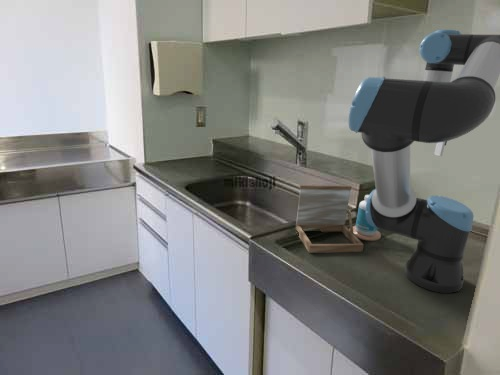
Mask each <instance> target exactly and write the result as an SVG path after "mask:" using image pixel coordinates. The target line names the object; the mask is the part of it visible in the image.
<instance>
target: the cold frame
mask: <svg viewBox="0 0 500 375" xmlns="http://www.w3.org/2000/svg"><path fill="white" fill-rule="evenodd" d="M352 188H353V187H352V185H324V184H323V185H317V184H316V185H315V184H312V185H311V184H308V185H307V184H304V185H303V184H301V185H299V195H298V196H299V197H298V206H297V213H296V214H297V215H296V222H295V229H296V230H297V231H298V232H299V236H298V238H299V240H300V241H301V243H302V244H303V246H304V247H305V248H306V251H307V252H308V254H314V253H315V254H317V253H318V254H319V253H326V254H327V253H362V252H363V250H364V246H365V245H364V243H363V242H362V241H361V239H359V238H357V237H356V236H355V235H354V232H353V226H354V225H353V218H352V212H351V209H348V207H349V201H350V194H351V190H352ZM347 216H348V222H349V224H348V225H349V227H347V225H346V221H347ZM308 228H317V229H320V231H321V232H324V233H326V232H328V233H329V232H341V233H343V235H344V236H345V237H346V238H347V239H348V240H349V242H350V243H312V242H311V240H310V239H309V237H308V236H307V234H306V233H305V232H304V231H303V230H302V229H308ZM349 229H350V230H349Z"/></svg>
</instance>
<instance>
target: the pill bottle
mask: <svg viewBox="0 0 500 375" xmlns="http://www.w3.org/2000/svg"><path fill="white" fill-rule="evenodd" d="M369 195H370V194H365V195H364V198H363V199H364V200H361V201H360V202H359V204H358V209H357V214H356V215H357V216H356V222H355V225H354V226H355V230H356V231H357V232H358V233H359V234H362V235H366V236H373V235H375V234H376V232H377V231H378V229H377V228H376V227H373V226H371V225H369V223H368V222H367V220H366V214H365V212H366V203H367V200H368V197H369Z"/></svg>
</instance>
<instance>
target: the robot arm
mask: <svg viewBox="0 0 500 375" xmlns="http://www.w3.org/2000/svg"><path fill="white" fill-rule="evenodd" d="M419 45H420V46H419V51H418V52H419V55H420V57H421V58H422V60H423V61H425V63H426V64H425V68H424V73H423V78H422V80H415V79H400V78H399V79H398V78H386V76H381V77H380V76H379V77H378V76H377V77H375V76H374V77H373V76H372V77H371V76H370V77H367V78H364V79H363V80H362V81H361V83H359V85H358V87H357V89H356V91H355V93H354V96H353V98H352V102H351V105H350V109H349V114H348V128H349V130H351V132H355V134H357V133H360V134H361V139H362V142H363V143H364V145H365V146H366V147H367V148H368V149H370V155H371V162H372V169H373V170H372V171H373V176H374V186H375V189H372V191H371V192H370V193H369V194H368V195H369V197H368V200H367V203H366V212H365V214H366V220H367V222H368V223H369V225H371V226H373V227H376V228H377V230H381V231H385V232H389V233H393V234H396V235H399V236H403V237H406V238H410V239H413V240H416V241H418V242H417V244H416V245H417V246H416V249H415V250H414V251H413V253H412V255H411V256H410V258H409V259H408V260H407V261H406V263H405V267H404V273H405V276H406V278H408V279H409V280H410V281H411V282H412V283H414V284H416V285H417V286H419V287H421V288H423V289H425V290H428V291H432V292H435V293H439V292H440V294H452V293H451V292H456V291H458V292H460V291H461V290H462V289H463V286H464V280H465V279H464V269H463V258H464V254H465V251H466V247H467V243H468V240H469V236H470V232H471V231H472V230H473V221H474V217H475V216H474V212H473V211H472V210H471V209H470V208H469V207H468V206H467V205H465V203H464V204H463V203H462V202H460V201H457V200H456V199H453V198H449V197H445V196H443V195H441V196H439V195H430V196H429V197H428V198H427V199H423V198H421V197H417V195H416V193H415V191H414V189H413V188H412V187H411V145H412V144H413V143H415V142H416V143H424V144H436V145H435V148H434V151H433V152H434V156H438V157H443V152H444V149H445V146H446V145H447V142H448V141H451V140H455V139H458V138H460V137H462V136H464V135H467V134H469V133H470V132H472V131H474V130H475V129H477V128H478V127H479V126H480V125H482V124H483V123H484V122H485V121H486V120H487V118H489V116H490V114H491V113H492V111H493V109H494V106H495V104H496V103H495V102H496V98H497V97H496V91H495V88H496V85H497V82H498V80H499V77H500V34H471V33H470V34H469V33H468V34H466V33H464V34H463V33H461V32H460V30H455V29H438V30H435V31H434V32H431V33H429V34H428V35H426V36H425V37H424V38H423V39H422V41H421V42H420V44H419ZM455 65H458V66H463V67H461V68H462V69H461V70H460V72H459V73H458V75H457V77H456V78H455V79H453V80H452V76H453V72H454V66H455ZM461 288H462V289H461ZM460 289H461V290H460ZM459 290H460V291H459ZM456 293H457V292H456Z"/></svg>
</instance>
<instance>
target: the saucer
mask: <svg viewBox="0 0 500 375" xmlns="http://www.w3.org/2000/svg"><path fill="white" fill-rule="evenodd" d="M355 226H356V225H353V232H354V235H355V236H356V237H357V238H358V239H359V240H363V241H370V242H373V241H378V240H380V239H381V237H382V234H381V232H380V231H379V230H377V232H376V234H375V235H373V236H366V235H362V234H359V233H358V232H357V231H356V230H355ZM348 229H349V230H350V228H348Z"/></svg>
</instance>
